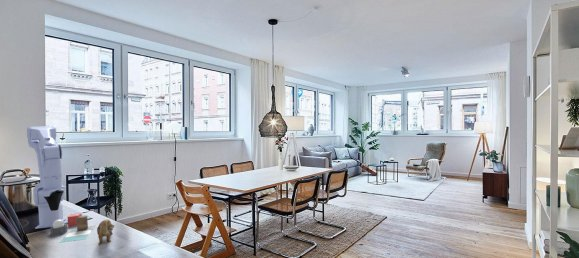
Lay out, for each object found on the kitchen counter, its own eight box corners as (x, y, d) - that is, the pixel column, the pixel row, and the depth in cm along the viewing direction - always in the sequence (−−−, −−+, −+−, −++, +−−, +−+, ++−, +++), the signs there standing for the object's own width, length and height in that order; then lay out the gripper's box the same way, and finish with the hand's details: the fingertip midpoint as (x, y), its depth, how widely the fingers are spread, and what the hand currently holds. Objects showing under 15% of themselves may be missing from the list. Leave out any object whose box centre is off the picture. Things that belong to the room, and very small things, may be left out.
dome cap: (55, 227, 121) (54, 218, 121) (65, 226, 123) (65, 217, 122) (51, 230, 118) (50, 221, 118) (62, 229, 119) (61, 220, 119)
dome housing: (53, 231, 122) (53, 224, 122) (68, 229, 124) (68, 223, 123) (48, 236, 117) (48, 229, 117) (64, 234, 119) (63, 227, 119)
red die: (71, 223, 132) (70, 213, 131) (82, 221, 133) (81, 212, 133) (68, 226, 128) (67, 216, 128) (79, 224, 129) (78, 214, 129)
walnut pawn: (78, 228, 125) (78, 216, 125) (89, 226, 126) (88, 215, 126) (76, 231, 122) (75, 219, 121) (86, 229, 123) (85, 217, 123)
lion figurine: (115, 244, 108) (114, 220, 108) (98, 248, 105) (96, 223, 105) (112, 232, 120) (111, 209, 120) (96, 235, 117) (95, 212, 117)
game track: (73, 228, 125) (73, 228, 125) (95, 225, 128) (95, 225, 128) (59, 242, 111) (59, 242, 111) (85, 239, 114) (85, 239, 114)
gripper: (57, 178, 113) (59, 214, 114) (70, 172, 127) (72, 203, 128) (34, 180, 111) (36, 216, 112) (50, 173, 125) (52, 206, 125)
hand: (54, 210), depth 120 cm, fingers closed
